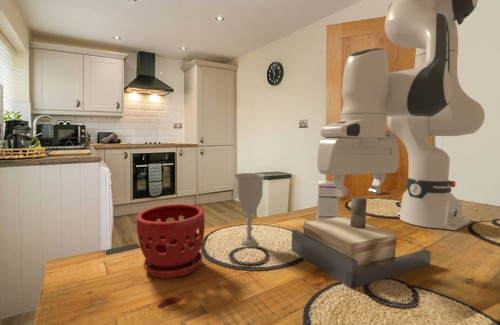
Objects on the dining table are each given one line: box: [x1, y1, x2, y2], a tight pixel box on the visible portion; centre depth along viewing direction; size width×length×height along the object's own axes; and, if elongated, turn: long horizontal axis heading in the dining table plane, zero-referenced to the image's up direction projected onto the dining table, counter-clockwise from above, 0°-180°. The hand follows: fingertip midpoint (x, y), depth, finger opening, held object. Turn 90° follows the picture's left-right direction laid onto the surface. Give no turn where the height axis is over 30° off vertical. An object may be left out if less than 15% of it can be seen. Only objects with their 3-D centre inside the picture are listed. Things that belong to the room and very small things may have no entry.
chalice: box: [234, 172, 266, 248], centre depth 68 cm, size 7×7×18 cm
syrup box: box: [316, 180, 339, 220], centre depth 82 cm, size 6×6×14 cm
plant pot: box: [136, 203, 205, 279], centre depth 58 cm, size 13×13×12 cm
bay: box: [291, 229, 432, 290], centre depth 61 cm, size 22×18×6 cm
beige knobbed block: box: [302, 196, 397, 267], centre depth 60 cm, size 12×14×13 cm
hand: (358, 194), depth 60 cm, fingers open, 8 cm apart
